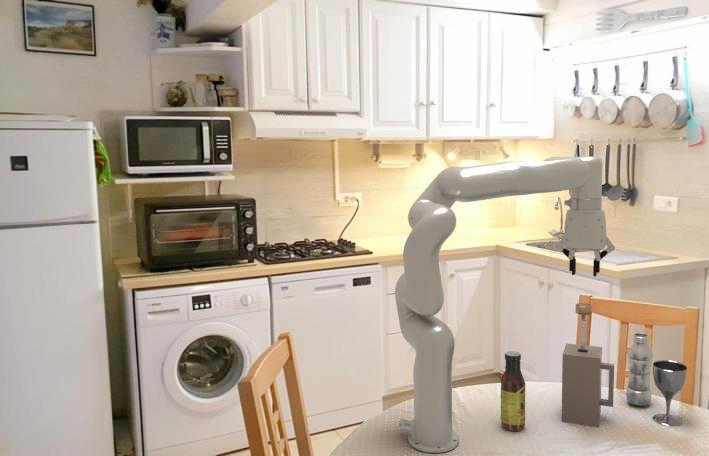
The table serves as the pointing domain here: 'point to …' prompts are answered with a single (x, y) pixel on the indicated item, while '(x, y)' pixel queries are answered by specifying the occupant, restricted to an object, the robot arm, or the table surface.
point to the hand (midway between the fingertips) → (584, 273)
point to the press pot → (584, 385)
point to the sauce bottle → (512, 394)
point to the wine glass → (669, 387)
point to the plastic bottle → (639, 371)
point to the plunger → (583, 321)
